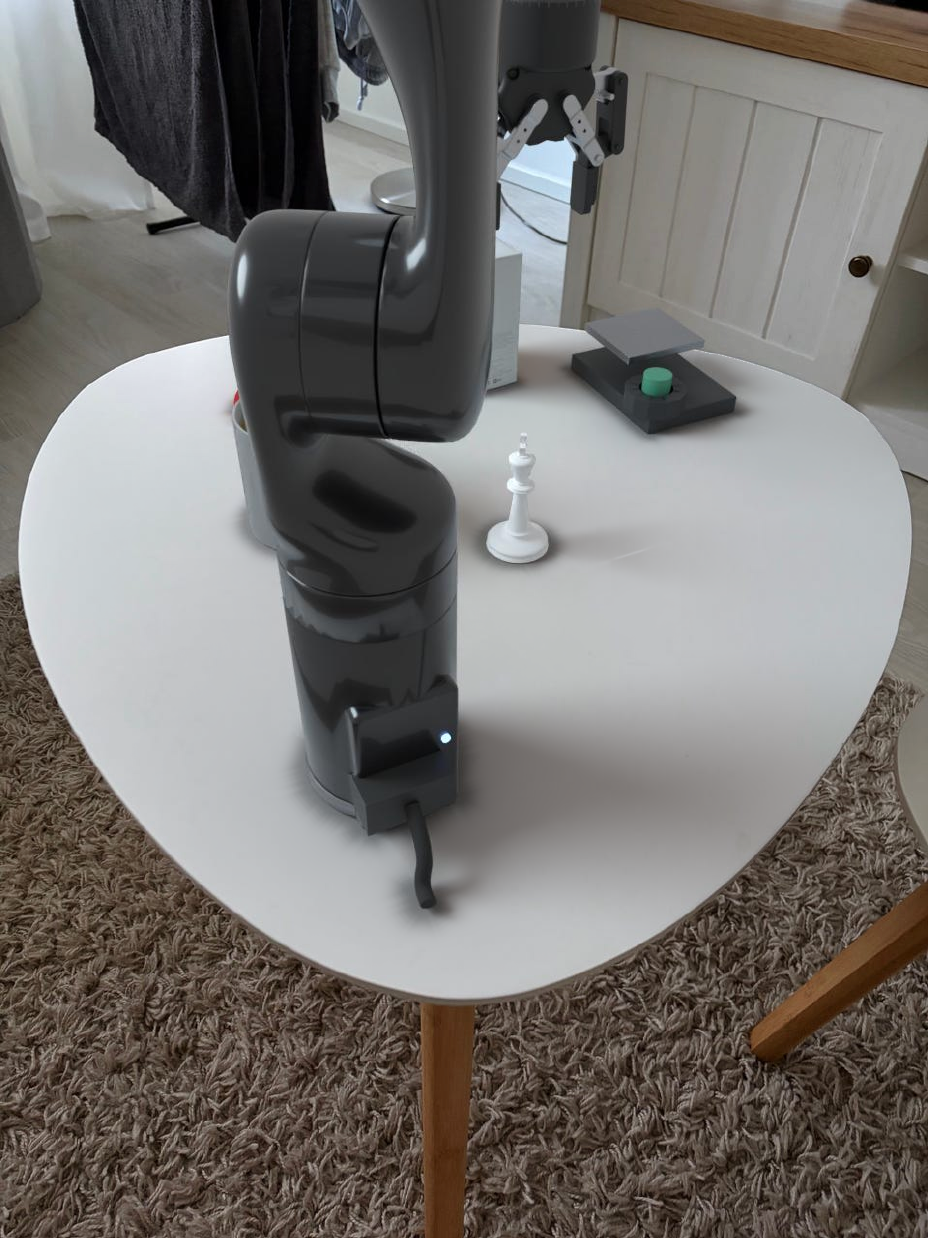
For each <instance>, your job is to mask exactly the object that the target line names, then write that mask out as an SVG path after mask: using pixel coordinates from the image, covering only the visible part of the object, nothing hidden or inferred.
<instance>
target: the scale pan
mask: <svg viewBox="0 0 928 1238" xmlns="http://www.w3.org/2000/svg"><path fill="white" fill-rule="evenodd" d="M583 329H584V330H583V331H585V333H586V334H588V335H590V336H591V337H592V338H593V339H595V340H596V341H597V342H598V343H600V344H601V345H602V346H603V347H606V348H607V349H609V350H610V351H611V352H612V353H614V354H615V355H616V356H617V357H619V358H620V359H621V360H623V361H624V362H625V363H626V364H628V365H630V364H635V363H639V362H643V361H647V360H652V359H656V358H660V357H664V356H669V355H673V354H677V353H678V354H682V353H686V352H691V351H694V350H698V349H702V348H705V347H704V346H705V341H706V340H705V339H704V338H703V337H701V336H700V335H698V334H697V333H695V332H694V331H693V330H691V329H690V328H688V327H687V326H685V325H684V324H683V323H681V322H679V321H678V320H677V319H675V318H674V317H672V316H671V315H670V314H669V313H667V312H665V311H664V310H662V309H661V308H660V307H652V308H648V309H644V310H639V311H635V312H630V313H626V314H621V315H616V316H612V317H611V316H610V317H606V318H602V319H597V320H593V321H589V322H588V321H587V322H585V323H584V328H583Z"/></svg>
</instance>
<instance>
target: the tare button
mask: <svg viewBox="0 0 928 1238" xmlns="http://www.w3.org/2000/svg"><path fill="white" fill-rule="evenodd" d="M671 382H672V373H671V372H670V371H669V370H667V369H664V368H659V367H653V368H648V369H646V370H645V371H644V373H643V381H642V388H641V391H642V392H643V393H645V394H648V395H651V396H665V395H669V393H670V388H671Z"/></svg>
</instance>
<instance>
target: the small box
mask: <svg viewBox="0 0 928 1238" xmlns="http://www.w3.org/2000/svg"><path fill="white" fill-rule="evenodd" d="M522 265H523V253H522V252H521V251H519V250H518V249H516V248H514V247H513V246H511V245H510V244H508V243H507V242H506V241H503V240H502V239H501V238H498V237H497V236H496V249H495V297H494V324H493V345H492V357H491V367H490V374H489V380H488V387H487V391H488V390H492V389H496V388H499V387H503V386H507V385H510V384H513V383H515V382H517V381H518V365H519V341H520V339H519V337H520V320H521V319H520V317H521V316H520V315H521V295H522V291H521V290H522V287H521V286H522V267H523V266H522Z"/></svg>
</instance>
